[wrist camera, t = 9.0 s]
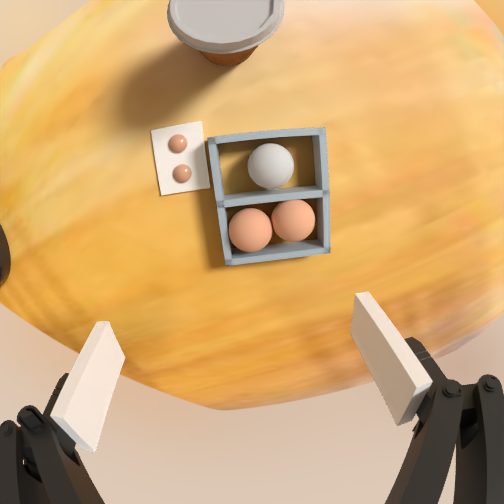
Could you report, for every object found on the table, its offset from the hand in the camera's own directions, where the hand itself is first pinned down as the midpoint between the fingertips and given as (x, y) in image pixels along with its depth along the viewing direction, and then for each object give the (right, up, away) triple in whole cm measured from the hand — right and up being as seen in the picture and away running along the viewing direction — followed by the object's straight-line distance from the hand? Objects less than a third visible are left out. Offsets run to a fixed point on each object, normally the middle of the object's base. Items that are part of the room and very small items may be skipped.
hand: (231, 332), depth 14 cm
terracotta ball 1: (+1, +7, +21) cm, 22 cm away
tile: (-7, +15, +17) cm, 24 cm away
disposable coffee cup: (-2, +28, +12) cm, 31 cm away
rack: (+3, +11, +19) cm, 23 cm away
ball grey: (+3, +14, +18) cm, 23 cm away
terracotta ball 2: (+5, +8, +21) cm, 23 cm away
